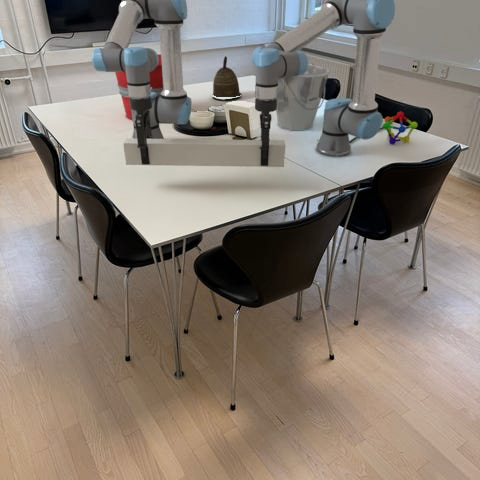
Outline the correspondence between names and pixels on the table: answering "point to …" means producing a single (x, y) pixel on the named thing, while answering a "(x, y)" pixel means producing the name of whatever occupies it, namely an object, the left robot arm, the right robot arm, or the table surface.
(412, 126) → the educational toy
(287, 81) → the bucket
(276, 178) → the table surface
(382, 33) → the right robot arm
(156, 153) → the bar
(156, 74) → the bucket
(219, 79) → the bell
